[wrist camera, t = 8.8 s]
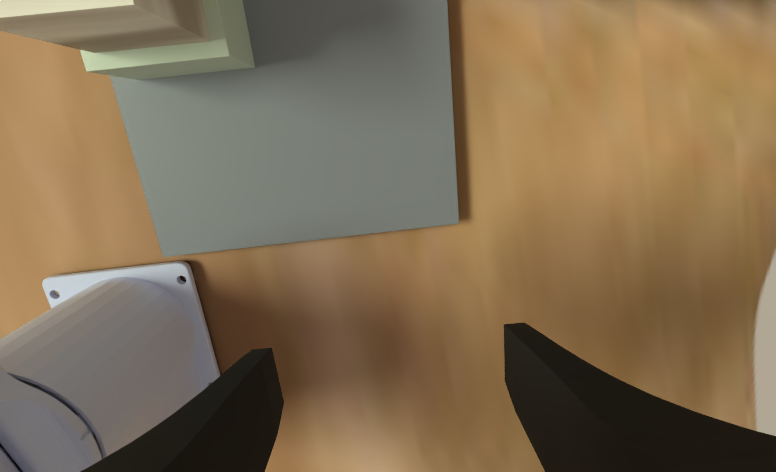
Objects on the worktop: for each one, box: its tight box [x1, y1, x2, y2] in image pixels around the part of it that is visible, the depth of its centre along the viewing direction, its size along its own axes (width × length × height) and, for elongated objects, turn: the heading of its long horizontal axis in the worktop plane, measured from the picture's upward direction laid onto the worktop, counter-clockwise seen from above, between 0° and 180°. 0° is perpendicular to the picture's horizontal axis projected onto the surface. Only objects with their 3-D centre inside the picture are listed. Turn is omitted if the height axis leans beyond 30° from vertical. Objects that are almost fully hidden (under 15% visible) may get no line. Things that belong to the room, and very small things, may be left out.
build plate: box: [110, 0, 459, 257], centre depth 19 cm, size 15×16×1 cm
